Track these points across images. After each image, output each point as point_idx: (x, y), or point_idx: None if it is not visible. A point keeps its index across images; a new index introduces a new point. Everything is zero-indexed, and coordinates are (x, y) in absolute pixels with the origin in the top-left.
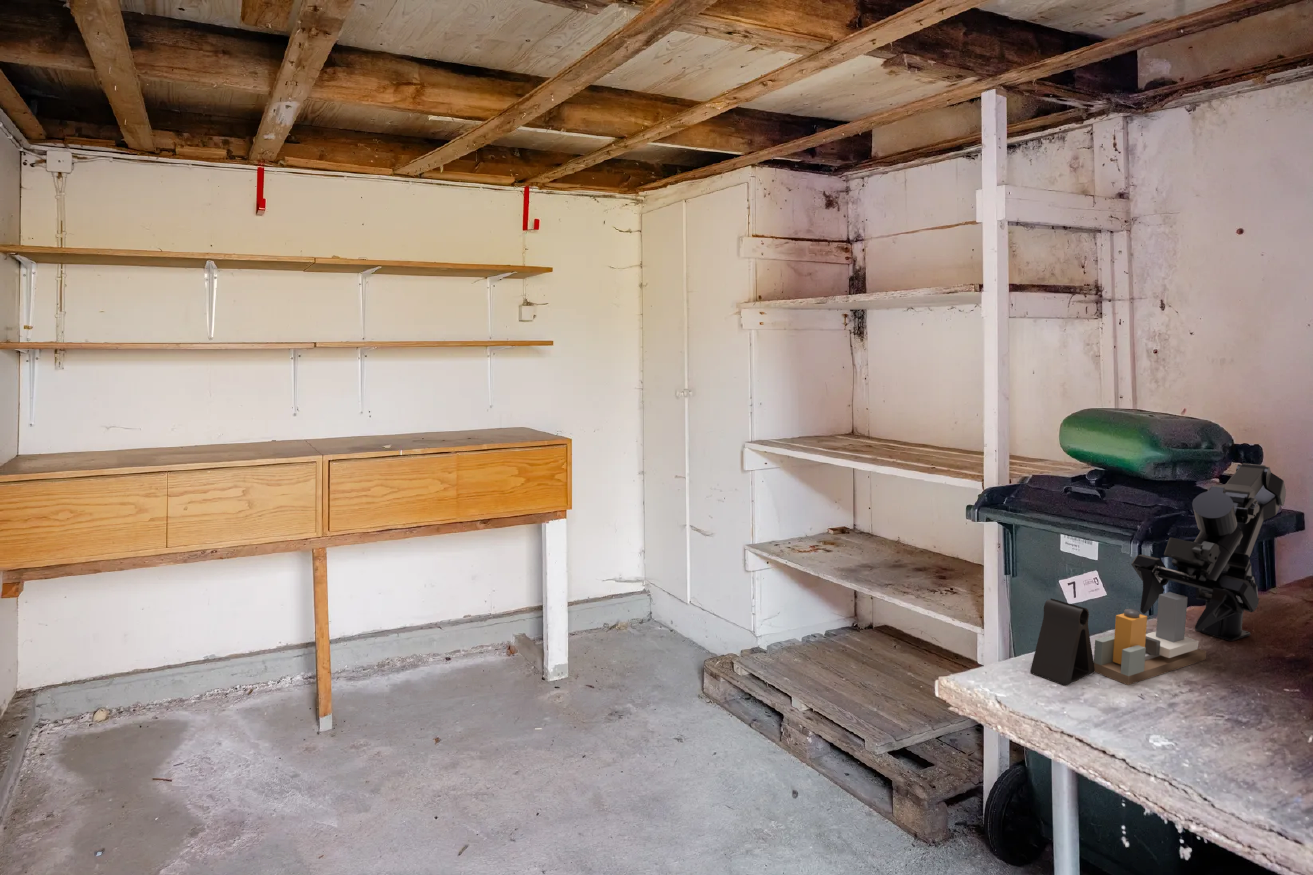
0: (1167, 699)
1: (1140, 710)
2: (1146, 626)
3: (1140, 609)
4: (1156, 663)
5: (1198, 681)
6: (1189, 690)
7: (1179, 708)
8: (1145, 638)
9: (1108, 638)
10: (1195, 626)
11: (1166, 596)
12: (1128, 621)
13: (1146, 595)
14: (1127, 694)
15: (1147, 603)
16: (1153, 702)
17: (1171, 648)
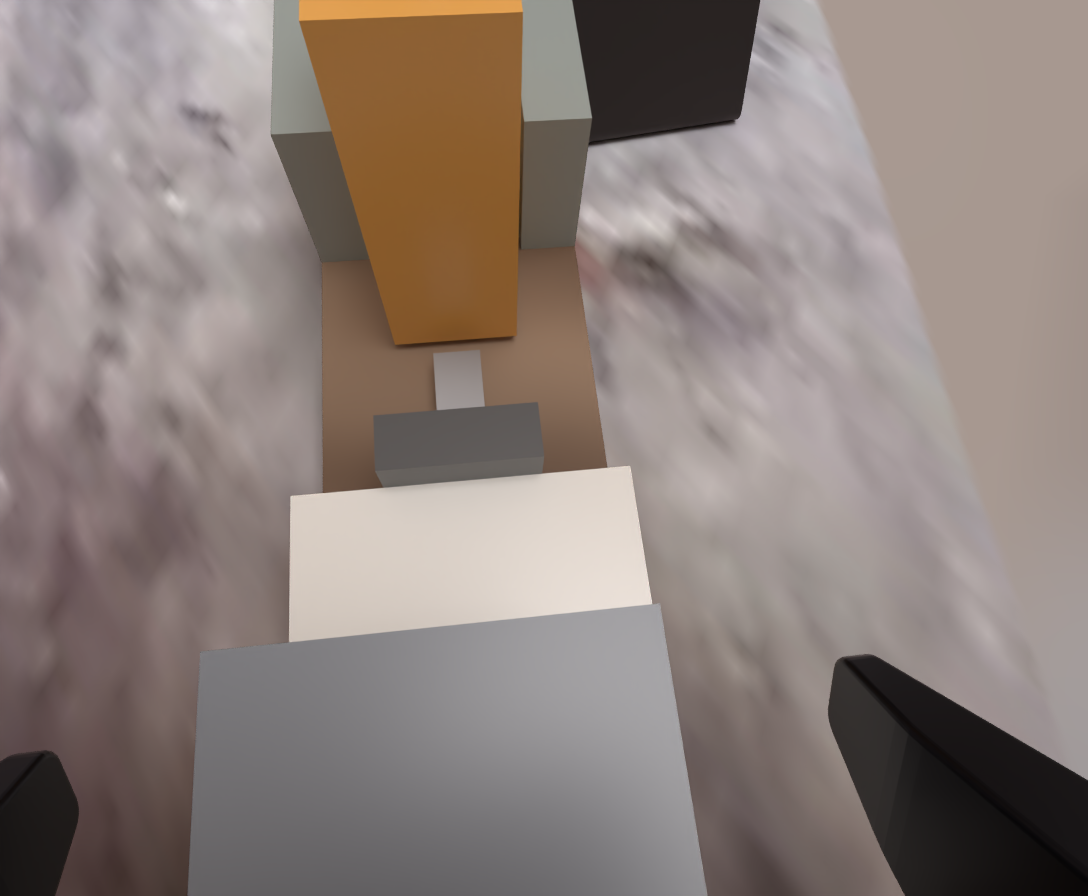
0: (105, 204)
1: (119, 10)
2: (331, 130)
3: (873, 658)
4: (364, 444)
5: (129, 602)
6: (91, 413)
7: (9, 168)
8: (360, 223)
9: (546, 59)
10: (36, 758)
11: (486, 648)
12: None
13: (1061, 826)
14: (261, 89)
15: (926, 798)
16: (130, 119)
17: (297, 534)
